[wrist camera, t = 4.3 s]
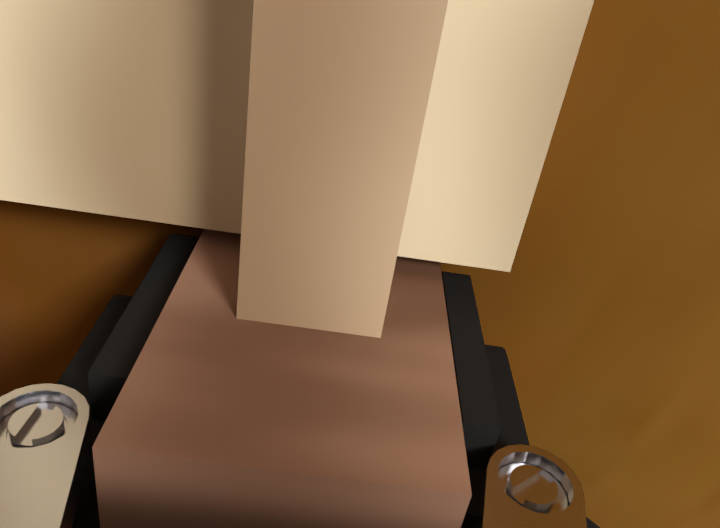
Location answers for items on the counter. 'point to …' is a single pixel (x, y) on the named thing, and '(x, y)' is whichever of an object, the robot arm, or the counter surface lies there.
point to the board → (230, 108)
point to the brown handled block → (304, 307)
